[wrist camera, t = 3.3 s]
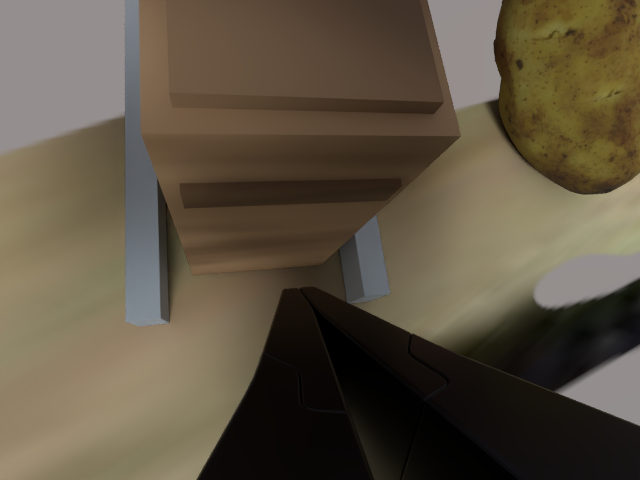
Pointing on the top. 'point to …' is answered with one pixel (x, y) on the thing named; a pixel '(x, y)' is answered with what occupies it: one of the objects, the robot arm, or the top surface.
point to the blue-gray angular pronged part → (150, 217)
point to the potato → (572, 88)
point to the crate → (287, 121)
